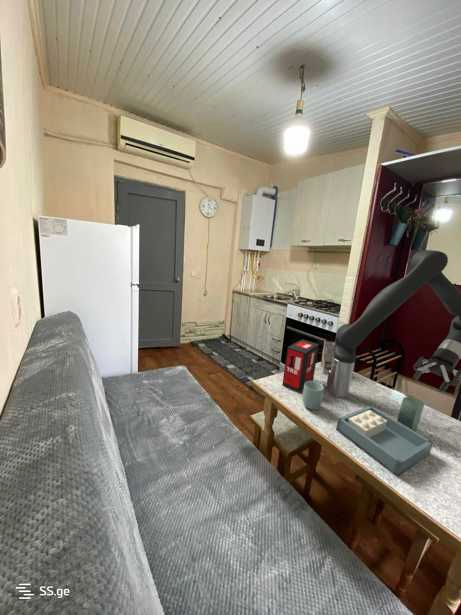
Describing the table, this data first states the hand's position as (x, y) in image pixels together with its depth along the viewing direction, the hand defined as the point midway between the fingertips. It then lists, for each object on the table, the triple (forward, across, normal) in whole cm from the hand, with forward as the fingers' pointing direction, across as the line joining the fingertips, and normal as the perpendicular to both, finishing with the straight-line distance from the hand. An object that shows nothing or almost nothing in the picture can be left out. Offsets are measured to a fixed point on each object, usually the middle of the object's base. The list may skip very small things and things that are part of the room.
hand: (427, 385), depth 98 cm
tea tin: (+18, 0, +7) cm, 19 cm away
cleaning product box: (+29, -43, -4) cm, 52 cm away
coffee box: (+10, -47, +15) cm, 50 cm away
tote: (+29, 0, -5) cm, 30 cm away
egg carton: (+29, -6, -5) cm, 30 cm away
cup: (+35, -26, -10) cm, 45 cm away
